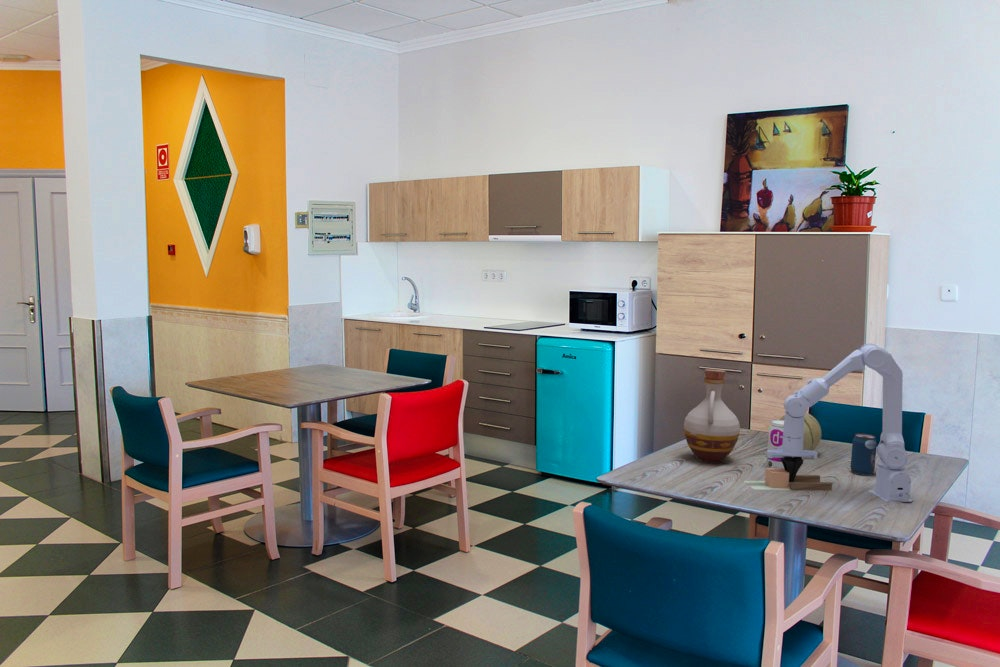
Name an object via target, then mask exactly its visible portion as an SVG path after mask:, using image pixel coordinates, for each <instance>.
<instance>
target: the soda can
mask: <svg viewBox="0 0 1000 667" xmlns="http://www.w3.org/2000/svg"><path fill="white" fill-rule="evenodd" d="M877 444H878V442H877V440H876V436H875V435H872V434H867V433H855V435H854V437H853V438H852V442H851V457H850V469H851V472H852V473H854V474H856V475H860V476H871V475H873V474H874V472H875V468H876V458H877V456H876V455H877V446H878V445H877Z"/></svg>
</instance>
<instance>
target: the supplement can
mask: <svg viewBox="0 0 1000 667" xmlns="http://www.w3.org/2000/svg"><path fill="white" fill-rule="evenodd" d="M783 428H784V420H780V419H773V420H772V421H771V423H770V424H769V427H768V438H767V439H768V440H767V450H777V449H782V442H783ZM766 467H767V468H783V469H784V466H783V464H782V461H781V459H780V458H768V457H767V456H766ZM784 470H785V469H784Z"/></svg>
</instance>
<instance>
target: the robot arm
mask: <svg viewBox="0 0 1000 667" xmlns="http://www.w3.org/2000/svg"><path fill="white" fill-rule="evenodd" d="M866 367H867V368H869V369H871V370H873V371H875V372H877V373H878V375H880V376H881V377H882V428H881V429H882V431H881V434H880V441H879V443H877V444H878V445H877V446H876V455H877V456H878V457H879V460H877V464H876V474H875V475H876V476H875V484H874V489H868V492H870V493H871V494H873V495H875V496H876V497H878V498H879V499H882V500H883V501H886V502H900V503H912V502H913V500H912V499H911V498H910V496H911V485H912V484H911V483H912V479H911V477H910V475H909V474H908V473H907V472H906V465H907V463H908V461H909V456H908V452H907V451H906V449H905V441H904V437H903V377H904V376H903V375H904V374H903V373H904V372H903V370H902V369H901V367H900V366H899V365H898V363H897V361H896V360H895V359H894V358H893V356H892V354H891V353H889V352H888V351H887V350H885V349H883V348H882V347H880V346H878V345H876V344H874V343H865V344H862V345H861V346H860V348H859V349H858V348H857V349H856V350H853V351H852V352H851V353H850V354H849V355H848V356H846V357H845V358H844V359H843V360H841V361H840V362H839V363H838V364H837V365H835V367H833V368H832V369H831V370H830V371H828V372H827V373H826V374H825V375H824V376H823V377H821V378H819V377H818V378H817V377H815V378H813V379H811V378H809V379H808V380H806V383H807V384H805V385H804V386H803V387H801V388H800V389H799V390H795V391H793V394H791V395H789V396H787V397H786V399H785V401H784V402H783V407H784V410H785V413H784V415H785V420H784V428H783V442H782V449H777V450H768V449H767V450H766V458H767V457H768V458H780V459H781V461H782V464H783V466H784V469H785V470H786V471H787V472H789V483H790V482H794V479H795V476H796V475H798V472H799V471H800V470H799V469H800V468H801V467H802V465H803V464H804V460H803V459H815V460H816V459H818V454H819V452H817V451H816V450H812V451H810V450H803V441H804V427H805V422H804V418H805V414H806V413H808V412H809V411H808V410H809V408H812V407H813V406H815V404H816V403H818V402H819V401H821V400H822V399H823V398H825V397H826V396H827V395H828V394H829V392H830V388H831V387H832V386H833V385H834V384H836V383H837V382H839V381H840V380H842V379H844V378H845V377H846V376H847V375H849V374H850V373H852V372H853V371H863V370H864V371H865V370H866Z"/></svg>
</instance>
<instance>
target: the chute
mask: <svg viewBox="0 0 1000 667" xmlns="http://www.w3.org/2000/svg"><path fill="white" fill-rule="evenodd" d="M743 482H744V483H745V484H746V485H747V486H749V487H750V488H751V489H752V490H755V491H832V489H833V483H832V482H829V481H821V475H819V474H796V476H795V479H794V482H790V483H789V484H788V488H771V487H770V486H768V485H767V484H766V483H765V480H743Z"/></svg>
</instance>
